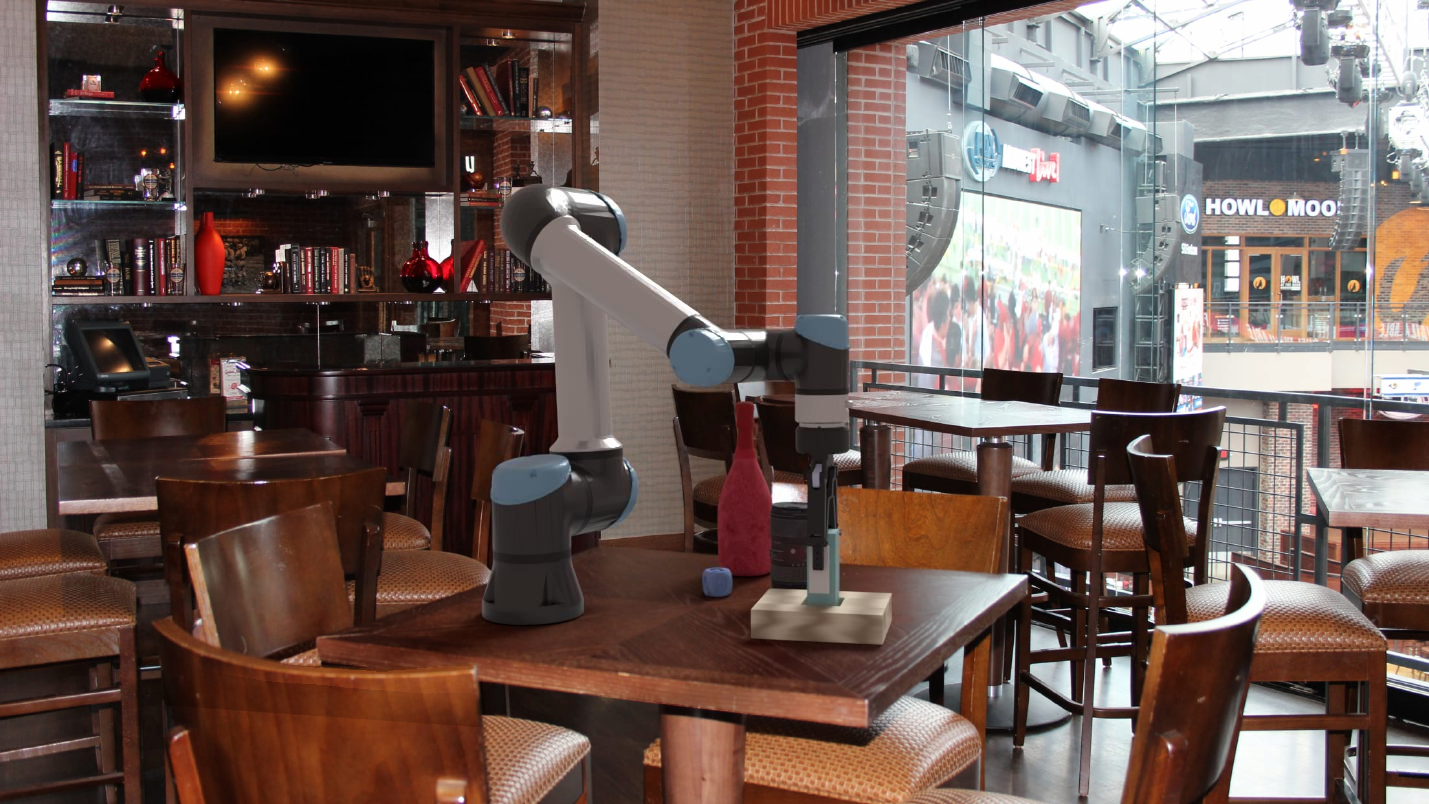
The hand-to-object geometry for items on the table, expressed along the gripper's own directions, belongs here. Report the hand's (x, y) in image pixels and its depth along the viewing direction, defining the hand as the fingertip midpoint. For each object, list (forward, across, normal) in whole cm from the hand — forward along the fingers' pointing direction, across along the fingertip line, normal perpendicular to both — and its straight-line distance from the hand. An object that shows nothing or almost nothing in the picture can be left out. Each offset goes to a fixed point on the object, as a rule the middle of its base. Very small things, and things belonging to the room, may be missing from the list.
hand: (823, 586), depth 173 cm
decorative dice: (+6, +20, +20) cm, 29 cm away
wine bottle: (+6, +38, +19) cm, 43 cm away
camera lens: (+6, +19, +7) cm, 21 cm away
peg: (+6, 0, 0) cm, 6 cm away
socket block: (+6, 0, 0) cm, 6 cm away
